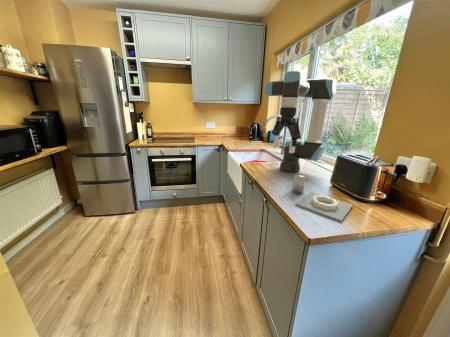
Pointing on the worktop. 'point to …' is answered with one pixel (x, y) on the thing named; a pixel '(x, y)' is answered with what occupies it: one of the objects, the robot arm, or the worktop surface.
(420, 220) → the worktop surface
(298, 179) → the duct collar
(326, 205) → the duct flange
